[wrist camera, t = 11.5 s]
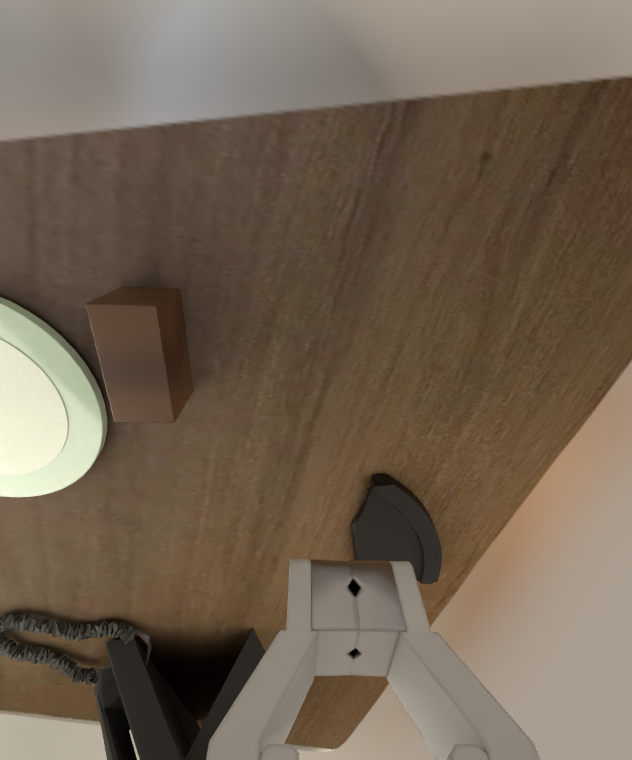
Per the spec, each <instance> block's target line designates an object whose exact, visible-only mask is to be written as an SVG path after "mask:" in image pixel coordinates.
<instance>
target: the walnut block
mask: <svg viewBox="0 0 632 760" xmlns="http://www.w3.org/2000/svg"><path fill="white" fill-rule="evenodd" d="M86 309H87V313H88V317H89V321H90V325H91V329H92V333H93V337H94V341H95V345H96V349H97V353H98V357H99V362H100V366H101V370H102V374H103V378H104V382H105V386H106V390H107V394H108V398H109V402H110V406H111V410H112V414H113V418H114V422H155V423H175V421H176V419H177V418H178V416H179V414H180V413H181V411H182V409H183V407H184V406H185V404H186V402H187V401H188V399H189V397H190V396H191V394H192V392H193V388H192V380H191V372H190V365H189V357H188V349H187V341H186V334H185V326H184V318H183V310H182V303H181V295H180V289H165V288H132V287H120V288H118V289H116V290H114V291H112V292H110V293H108V294H106V295H104V296H101V297H99V298H97V299H95V300H93V301H91V302H89V303H87V304H86Z"/></svg>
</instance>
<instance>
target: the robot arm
mask: <svg viewBox="0 0 632 760" xmlns="http://www.w3.org/2000/svg"><path fill="white" fill-rule="evenodd" d="M335 675H359V676H385V677H387V680H388V682H389V683H390V685H391V687H392V688H393V690H394V692H395V693H396V695H397V697H398V698H399V700H400V701H401V703H402V705H403V706H404V708H405V710H406V711H407V713H408V715H409V716H410V718H411V720H412V721H413V723H414V724H415V726H416V728H417V730H418V731H419V733H420V735H421V736H422V738H423V740H424V741H425V743H426V744H427V746H428V748H429V749H430V751H431V753H432V754H433V756H434V758H435V759H436V760H540V758H539V756H538V753H537V751H536V748H535V746H534V744H533V742H532V740H531V739H530V738H529V737H528V736H527V735H526V734H525V732H524V731H523V730H522V729H521V728H520V727H519V725H518V724H517V723H516V722H515V721H514V720H513V719H512V717H511V716H510V715H509V714H508V713H507V712H506V711H505V709H504V708H503V707H502V706H501V705H500V704H499V703H498V701H497V700H496V699H495V698H494V697H493V696H492V694H491V693H490V692H489V691H488V690H487V689H486V688H485V687H484V685H483V684H482V683H481V682H480V681H479V680H478V678H477V677H476V676H475V675H474V674H473V673H472V671H471V670H470V669H469V668H468V667H467V666H466V665H465V663H464V662H463V661H462V660H461V659H460V658H459V657H458V655H457V654H456V653H455V652H454V651H453V650H452V648H451V647H450V646H449V645H448V644H447V643H446V642H445V640H444V639H443V638H442V637H441V636H440V635H439V633H437V632H431V630H430V626H429V623H428V619H427V616H426V612H425V609H424V605H423V601H422V598H421V594H420V591H419V587H418V584H417V580H416V577H415V573H414V570H413V566H412V565H411V563H410V562H408V561H373V560H350V561H334V560H310V559H291V560H290V567H289V586H288V606H287V626H286V630H280V631H279V633H278V634H277V636H276V637H275V639H274V640H273V642H272V643H271V645H270V647H269V648H268V650H267V651H266V653H265V654H264V656H263V658H262V659H261V661H260V662H259V664H258V665H257V667H256V669H255V670H254V672H253V673H252V675H251V676H250V678H249V680H248V681H247V683H246V684H245V686H244V687H243V689H242V691H241V692H240V694H239V695H238V697H237V698H236V700H235V702H234V703H233V705H232V706H231V708H230V709H229V711H228V713H227V714H226V716H225V717H224V719H223V720H222V722H221V724H220V725H219V727H218V728H217V730H216V731H215V733H214V734H213V736H212V738H211V739H210V741H209V746H208V751H207V757H206V760H299V753H298V752H297V751H296V749H295V748H294V747H293V746H292V744H284V743H285V741H286V739H287V736H288V734H289V732H290V730H291V728H292V726H293V723H294V721H295V719H296V717H297V715H298V713H299V710H300V708H301V706H302V704H303V702H304V700H305V697H306V695H307V693H308V691H309V689H310V687H311V684H312V682H313V680H314V676H335Z"/></svg>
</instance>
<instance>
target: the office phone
mask: <svg viewBox="0 0 632 760" xmlns="http://www.w3.org/2000/svg"><path fill="white" fill-rule="evenodd" d="M20 615H21V614H18V615H16V616H14V615H12V614H10V615H7V616H3V617H2V618H0V652H1V653H0V654H1V655H2V656H4V655H7V656H8V657H9V658H11V659H13V657H14V658H17V661H21V662H23V661H25V660H26V661H30V662H32V663H34V664H36V663H39V664H41V663H46V664H50V662H51V660H52V662H51V664H50V667H51V666H52V665H53V664H54V663H55V662H56V661H57V662H56V663H55V665H54V666H53V668H52V669H56V668H57V669H56V671H57V670H60V669H62V670H61V672H60V675H61V674H62V673H63V674H64V675H65V676H66V675H67V674H68V673H69V674H68V675H67V677H69V678H70V677H71V678H72V679H73V682H78V681H79V680H81V681H82V682H85V685H91V684H95V683H96V682H97V683H96V686H95V688H94V689H95V695H96V700H97V706H98V711H99V717H100V722H101V728H102V733H103V738H104V744H105V750H106V755H107V760H137V758H136V755H135V751H134V747H133V744H132V741H131V737H130V733H129V730H130V729H131V732H132V735H133V739H134V742H135V745H136V748H137V752H138V755H139V758H140V760H206V757H207V751H208V746H209V741H210V739H211V738H212V736H213V734H214V733H215V731H216V730H217V728H218V727H219V725H220V724H221V722H222V720H223V719H224V717H225V716H226V714H227V713H228V711H229V709H230V708H231V706H232V705H233V703H234V702H235V700H236V698H237V697H238V695H239V694H240V692H241V691H242V689H243V687H244V686H245V684H246V683H247V681H248V680H249V678H250V676H251V675H252V673H253V672H254V670H255V669H256V667H257V665H258V664H259V662H260V661H261V659H262V658H263V656H264V654H265V651H264V649H263V647H262V645H261V643H260V641H259V639H258V637H257V635H256V633H255V631H254V629H253V630H252V631H251V633H250V635H249V637H248V639H247V641H246V643H245V645H244V647H243V649H242V651H241V653H240V654H239V656H238V658H237V660H236V662H235V664H234V666H233V668H232V670H231V672H230V674H229V676H228V678H227V679H226V681H225V683H224V685H223V687H222V689H221V691H220V693H219V695H218V697H217V699H216V701H215V702H214V704H213V706H212V708H211V710H210V712H209V714H208V716H207V718H206V720H205V722H204V724H203V726H202V727H201V729H200V727H199V725H198V723H197V722H196V721H195V719H194V718H193V717H192V715H191V714H190V713H189V711H188V710H187V709H186V707H185V706H184V705H183V703H182V702H181V701H180V699H179V698H178V697H177V695H176V694H175V693H174V691H173V690H172V689H171V687H170V686H169V685H168V683H167V682H166V681H165V679H164V678H163V677H162V675H161V674H160V673H159V671H158V670H157V669H156V667H155V666H154V665H153V663H152V662H151V660H150V659H149V656H150V652H151V643H150V637H149V636H148V635H146V634H144V633H141V632H139V631H137V630H135V629H133V628H132V627H130V626H128V627H127V626H126V624H125V623H124V624H123V625H122V623H121V621H120V623H119V622H118V621H115V623H114V621H113V622H111V623H106V620H105V621H103V622H102V623H101V624H100V623H99V622H98V621H96V622H95V624H88V623H87V625H84V624H82V625H81V627H80V625H79V624H78V625H77V624H75V625H74V624H71V623H70V624H69V623H67V622H65V621H60V622H59V623H58V622H56V621H54V622H53V621H52V620H50V618H49V619H44V618H45V616H41V617H39V618H37V617H32V615H31V614H30V616H29V614H26V613H25V615H24V613H23V614H22V615H21V617H20ZM19 617H20V618H19ZM28 617H29V618H28ZM27 618H28V620H27ZM26 620H27V622H26V623H25V621H26ZM68 625H69V626H68ZM73 625H74V627H73ZM113 625H114V628H113ZM72 627H73V628H72ZM104 627H105V629H104ZM15 628H16V629H17V631H19V630H22V631H24V630H27V631H30V632H33V631H35V632H34V633H36V632H41V635H43V634H44V632H45V633H46V634H49V633H52V635H53V637H56V636H61V635H62V637H63V638H65V639H69V641H72V640H74V639H75V638H76V637H77V639H78V641H80V640H83V639H88V638H99V639H100V638H101V637H102V636H104V637H105V636H106V637H107V636H108V638H109V636H110V635H111V634H112V633H113V637H112V638H114V637H115V635H116V637H118V636H119V635H120V636H119V637H120V638H121V640H115V641H109V642H106V645H107V650H108V655H109V660H110V664H111V667H110V666H104V667H100V668H96V671H97V674H96V671H95V668H94V669H93V667H92V668H91V669H88V668H87V669H85V668H82V667H81V666H80V667H79V666H77V667H76V665H77V663H75V662H74V661H71V660H69V659H66V658H67V657H63V656H64V654H65V653H59V652H54V651H53V649H51V651H50V652H49V654H48V650H49V649H46V650H45V648H44V647H38V648H36V647H37V646H34V647H32V648H31V646H29V647H27V645H26V644H24V645H23V642H22V643H20V644H19V645H18V646H17V644H16V642H13V641H14V640H9V639H10V637H6V634H3V632H5V630H8V629H13V630H14V629H15ZM71 629H72V630H71ZM103 629H104V630H103ZM41 635H40V636H41ZM136 635H139V636H140V637H141V638H142V639H143V640H144V642H145V643H146V644H147V645H148V652H147V655H146V654H145V652H144V651H143V649H142V648H141V647H140V645H139V644H138V642H137V641H136V640H135V638H134V636H136ZM22 645H23V646H22ZM21 647H22V648H21ZM30 648H31V649H30ZM13 650H14V651H13ZM44 652H45V653H44ZM11 653H12V654H11ZM10 654H11V655H10ZM43 654H44V655H43ZM47 654H48V655H47ZM42 655H43V656H42ZM17 661H16V662H17ZM50 667H49V668H50ZM78 667H79V668H78ZM71 669H72V670H71ZM102 670H103V671H102ZM93 671H94V673H93ZM100 671H101V672H100ZM99 673H100V675H99ZM91 677H92V678H91ZM98 677H99V678H98ZM90 678H91V679H90Z"/></svg>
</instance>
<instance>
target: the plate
mask: <svg viewBox="0 0 632 760" xmlns="http://www.w3.org/2000/svg"><path fill="white" fill-rule="evenodd" d="M106 433H107V414H106V408H105V403H104V400H103V397H102V393H101V391H100V388H99V386H98V384H97V382H96V380H95V378H94V376H93V374H92V373H91V371H90V370H89V368H88V366H87V365H86V363H85V362H84V361H83V359H82V358H81V357H80V356H79V354H78V353H77V352H76V351H75V349H74V348H73V347H72V346H71V345H70V344H69V343H68V342H67V341H66V340H65V339H64V338H63V337H62V336H61V335H60V334H58V333H57V332H56V331H55V330H54V329H53V328H51V327H50V326H49V325H48V324H47V323H45V322H44V321H42V320H41V319H39V318H38V317H37V316H35V315H34V314H32V313H31V312H29V311H27V310H25V309H24V308H22V307H20V306H18V305H17V304H15V303H13V302H11V301H9V300H6V299H4V298H2V297H0V496H4V497H31V496H38V495H44V494H48V493H52V492H55V491H58V490H60V489H63V488H65V487H67V486H69V485H71V484H72V483H74V482H76V481H77V480H78V479H79V478H81V477H82V476H83V475H84V474H85V473H86V472H87V471H88V470H89V469H90V467H91V466H92V465H93V464H94V463H95V461H96V460H97V458H98V456H99V455H100V453H101V451H102V449H103V446H104V443H105V439H106Z"/></svg>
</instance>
